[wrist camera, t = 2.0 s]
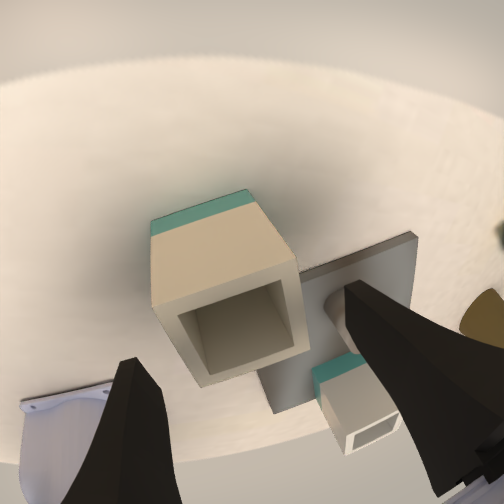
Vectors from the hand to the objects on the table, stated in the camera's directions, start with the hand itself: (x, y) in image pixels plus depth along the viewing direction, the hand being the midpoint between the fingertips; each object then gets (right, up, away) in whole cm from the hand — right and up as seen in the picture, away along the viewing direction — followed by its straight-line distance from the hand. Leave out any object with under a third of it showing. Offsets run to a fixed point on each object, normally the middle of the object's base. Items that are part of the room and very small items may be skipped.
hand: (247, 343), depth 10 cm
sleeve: (-2, +3, +5) cm, 7 cm away
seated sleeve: (+7, -6, +13) cm, 16 cm away
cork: (+25, -3, +18) cm, 31 cm away
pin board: (+6, -3, +12) cm, 13 cm away
